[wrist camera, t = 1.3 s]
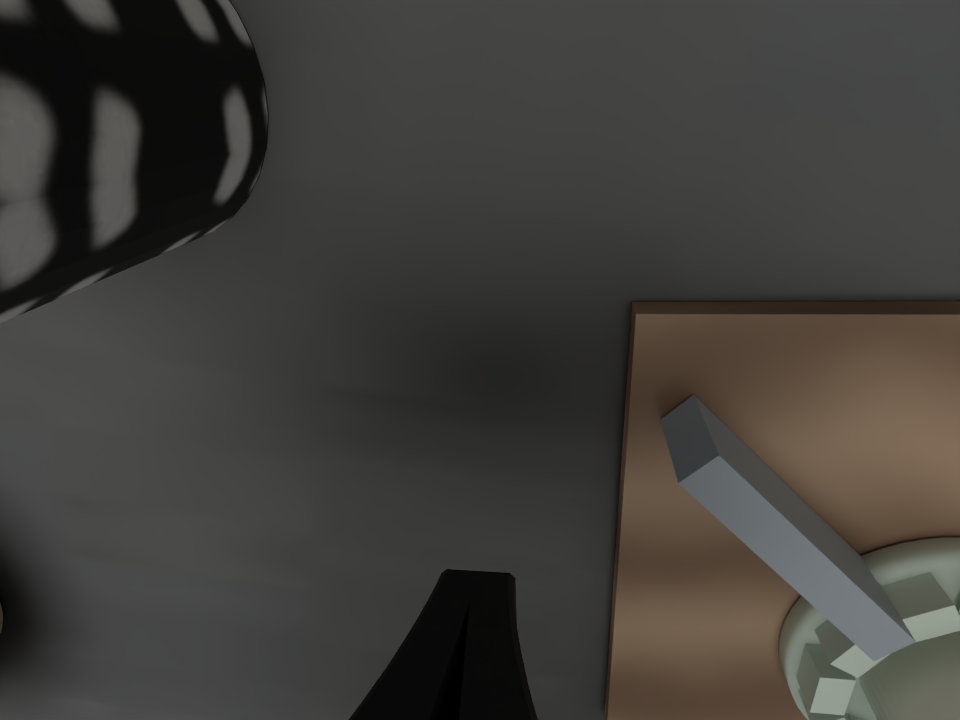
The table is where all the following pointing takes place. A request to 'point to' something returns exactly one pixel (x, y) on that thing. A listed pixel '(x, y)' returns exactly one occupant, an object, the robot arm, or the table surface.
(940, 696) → the cream round-ended cylinder
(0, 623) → the planter bowl
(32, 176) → the spotted tube
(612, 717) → the walnut board
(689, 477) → the turntable
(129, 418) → the table surface
